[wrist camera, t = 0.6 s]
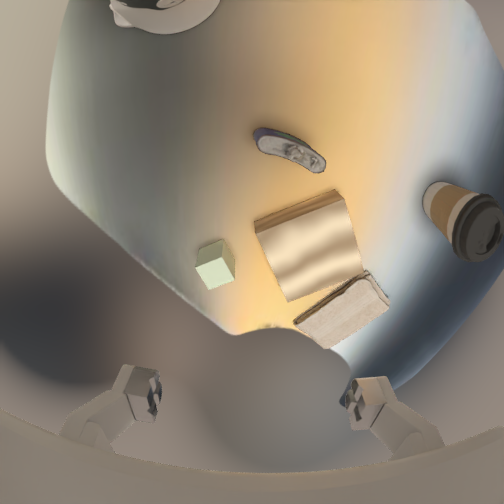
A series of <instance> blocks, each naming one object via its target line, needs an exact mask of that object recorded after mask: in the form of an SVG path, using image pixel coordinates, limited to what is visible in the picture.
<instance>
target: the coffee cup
mask: <svg viewBox="0 0 504 504" xmlns="http://www.w3.org/2000/svg"><path fill="white" fill-rule="evenodd" d="M423 208H424V211H425V212H426V215H427V216H428V217H429V218H430V219H431V220H432V222H433V223H434V224H435V225H436V226H437V227H438V229H439V230H440V231H441V232H442V233H443V234H444V236H445V237H446V238H447V239H448V240H449V242H450V243H451V244H452V247H453V250H454V253H455V254H456V255H457V256H458V257H459V258H461V259H462V260H464V261H467V262H481V261H483V260H485V259H487V258H488V257H490V256H491V255H492V254H493V253H494V252H495V250H496V249H497V248H498V246H499V244H500V242H501V240H502V237H503V234H504V215H503V213H502V210H501V207H500V205H499V203H498V202H497V201H496V200H495V199H494V198H493V197H492V196H490V195H489V194H478V193H475V192H472V191H469V190H467V189H464V188H461V187H458V186H455V185H452V184H449V183H446V182H436V183H433V184H432V185H430V186H429V187H428V189H427V190H426V192H425V194H424V196H423Z"/></svg>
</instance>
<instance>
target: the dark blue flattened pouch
mask: <svg viewBox="0 0 504 504" xmlns="http://www.w3.org/2000/svg"><path fill="white" fill-rule="evenodd" d="M253 137H254V140H255V141H256V145H257V147H258V149H259V150H260V151H261V152H263V153H265V154H269V155H276V156H280V157H283V158H286V159H288V160H291V161H292V162H296V163H298V164H300V165H302V166H303V167H305V168H306V169H308V170H309V171H311V172H313V173H321V172H324V169H325V167H326V160H325V159H324V158H323V157H322V156H321V155H320V154H318V153H317V152H316V151H314V150H313V149H312V148H311V147H310V146H309V145H307V144H306V143H305V142H303V141H302V140H300V139H299V138H296V137H294V136H292V135H290V134H287V133H283V132H280V131H276V130H273V129H268V128H259V129H257V130H256V131H255V132H254V135H253Z"/></svg>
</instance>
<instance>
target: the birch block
mask: <svg viewBox="0 0 504 504" xmlns="http://www.w3.org/2000/svg"><path fill="white" fill-rule="evenodd" d="M254 225H255V233H256V236H257V238H258V240H259V242H260V244H261V247H262V249H263V251H264V253H265V255H266V257H267V259H268V261H269V264H270V266H271V268H272V270H273V272H274V274H275V276H276V279H277V281H278V283H279V285H280V287H281V289H282V291H283V293H284V296H285V298H286V300H287V302H290V301H293V300H296V299H298V298H301V297H303V296H306V295H309V294H311V293H314V292H317V291H319V290H322V289H324V288H327V287H329V286H332V285H334V284H337V283H339V282H342V281H344V280H347V279H349V278H352V277H354V276H357V275H359V274H361V273H364V270H363V266H362V262H361V258H360V254H359V250H358V246H357V242H356V238H355V235H354V231H353V227H352V224H351V220H350V217H349V213H348V210H347V207H346V203H345V200H344V198H343V197H342V196H341V195H340V194H339V193H338V192H337V191H336V190H332V191H330V192H327V193H325V194H322V195H319V196H317V197H314V198H312V199H309V200H307V201H304V202H302V203H299V204H297V205H294V206H292V207H289V208H287V209H284V210H282V211H279V212H277V213H274V214H272V215H269V216H267V217H264V218H262V219H259V220H257V221H255V222H254Z"/></svg>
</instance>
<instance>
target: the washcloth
mask: <svg viewBox="0 0 504 504" xmlns="http://www.w3.org/2000/svg"><path fill="white" fill-rule="evenodd" d="M389 305H390V300H389V299H388V298H387V297H386V296H385V295H384V293H383V292H382V290H381V289H380V288H379V286H378V285H377V283H376V282H375V281H374V279H373V278H372V276H371V275H370V274H369V273H368V272H367V271H365V272H364V273H362V274H359V275H357V276H355V277H353V278H352V279H350V280H348V281H347V282H346V283H344V284H343V285H341V286H340V287H339V288H337V289H336V290H335V291H333V292H332V293H330V294H329V295H328V296H326V297H325V298H323V299H322V300H321V301H319V302H318V303H317V304H315V305H314V306H313V307H311V308H310V309H308V310H307V311H305V312H304V313H302V314H301V315H299V316H298V317H297V318H296V319H295V320H294V323H293V324H294V325H295V326H296V327H297V328H298V329H300V330H301V331H303V332H304V333H306V334H308V335H309V336H311V337H312V339H313V340H314V341H315V342H316V343H318V344H319V345H320V346H321V347H323V348H324V349H328V348H330V347H332V346H334V345H336V344H337V343H339V342H340V341H341V340H344V339H345V338H347V337H348V336H350V335H352V334H353V333H355V332H357V331H358V330H359V329H361V328H362V327H363V326H365V325H367V324H368V323H369V322H371V321H372V320H374V319H375V318H376V317H378V316H380V315H381V314H383V313H384V312H385V311H387V310H388V309H389V308H390V307H389Z"/></svg>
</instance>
